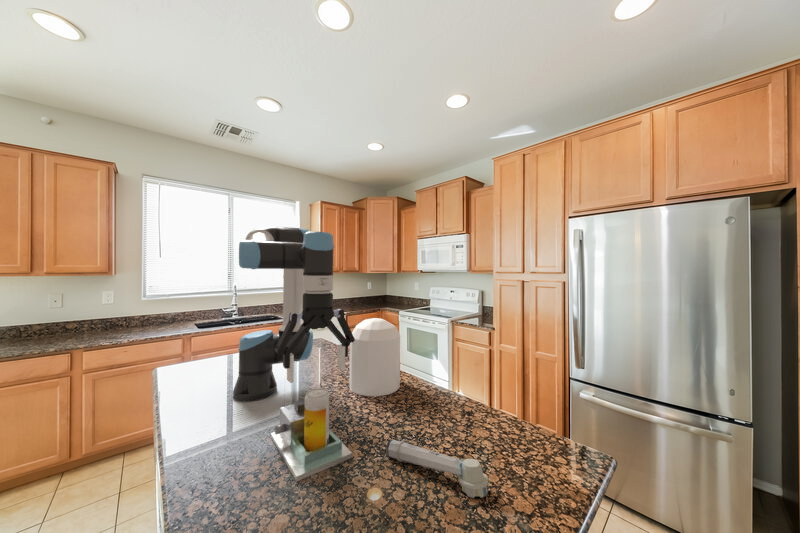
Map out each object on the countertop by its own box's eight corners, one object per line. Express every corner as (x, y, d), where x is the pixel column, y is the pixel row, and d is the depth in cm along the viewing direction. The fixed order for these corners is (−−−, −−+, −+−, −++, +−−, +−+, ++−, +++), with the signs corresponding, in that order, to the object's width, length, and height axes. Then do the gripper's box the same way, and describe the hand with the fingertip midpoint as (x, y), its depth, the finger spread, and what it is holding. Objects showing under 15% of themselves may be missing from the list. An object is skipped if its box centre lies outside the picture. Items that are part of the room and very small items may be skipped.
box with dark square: (269, 437, 82) (269, 401, 83) (318, 421, 91) (318, 389, 91) (294, 482, 65) (295, 436, 65) (352, 457, 74) (352, 417, 74)
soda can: (307, 445, 77) (307, 387, 77) (330, 444, 78) (331, 387, 78) (301, 459, 71) (302, 397, 71) (326, 458, 72) (327, 396, 72)
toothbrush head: (395, 434, 78) (488, 454, 64) (398, 461, 77) (492, 486, 63) (383, 444, 73) (480, 468, 60) (386, 472, 73) (484, 502, 59)
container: (409, 382, 124) (409, 316, 124) (379, 401, 106) (380, 324, 107) (370, 373, 135) (371, 312, 136) (338, 388, 117) (338, 318, 118)
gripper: (270, 295, 64) (269, 391, 64) (367, 291, 80) (366, 369, 79) (262, 293, 70) (261, 381, 70) (354, 289, 86) (353, 362, 85)
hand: (317, 375), depth 75 cm, fingers open, 13 cm apart
